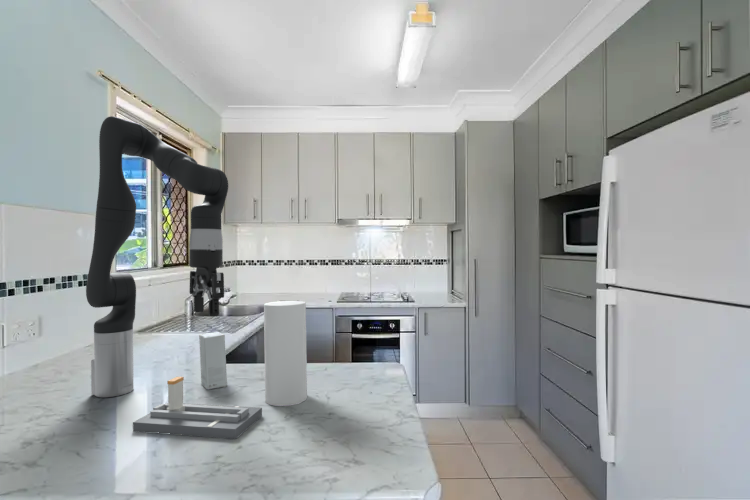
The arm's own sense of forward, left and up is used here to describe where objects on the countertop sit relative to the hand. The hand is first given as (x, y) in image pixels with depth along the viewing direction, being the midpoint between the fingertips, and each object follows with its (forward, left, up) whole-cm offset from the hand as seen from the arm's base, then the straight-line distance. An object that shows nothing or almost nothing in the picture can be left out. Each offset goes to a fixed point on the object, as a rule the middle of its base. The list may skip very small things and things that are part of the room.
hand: (206, 314), depth 102 cm
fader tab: (-3, -8, -21) cm, 23 cm away
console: (+3, -8, -23) cm, 25 cm away
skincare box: (-10, +18, -24) cm, 31 cm away
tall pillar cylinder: (+16, +10, -24) cm, 30 cm away
